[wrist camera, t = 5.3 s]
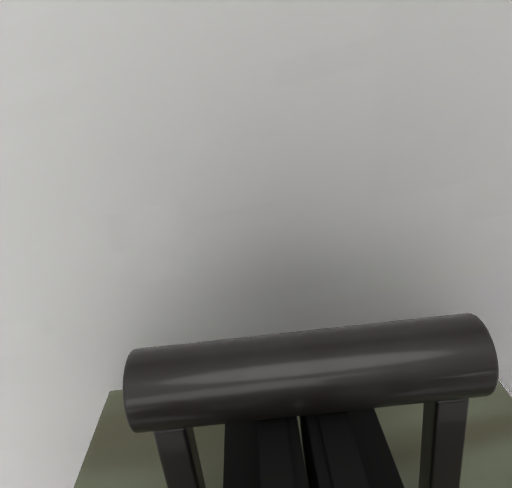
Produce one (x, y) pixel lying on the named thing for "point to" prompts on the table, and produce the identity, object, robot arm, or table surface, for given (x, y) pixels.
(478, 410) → the drawer
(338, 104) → the table surface
